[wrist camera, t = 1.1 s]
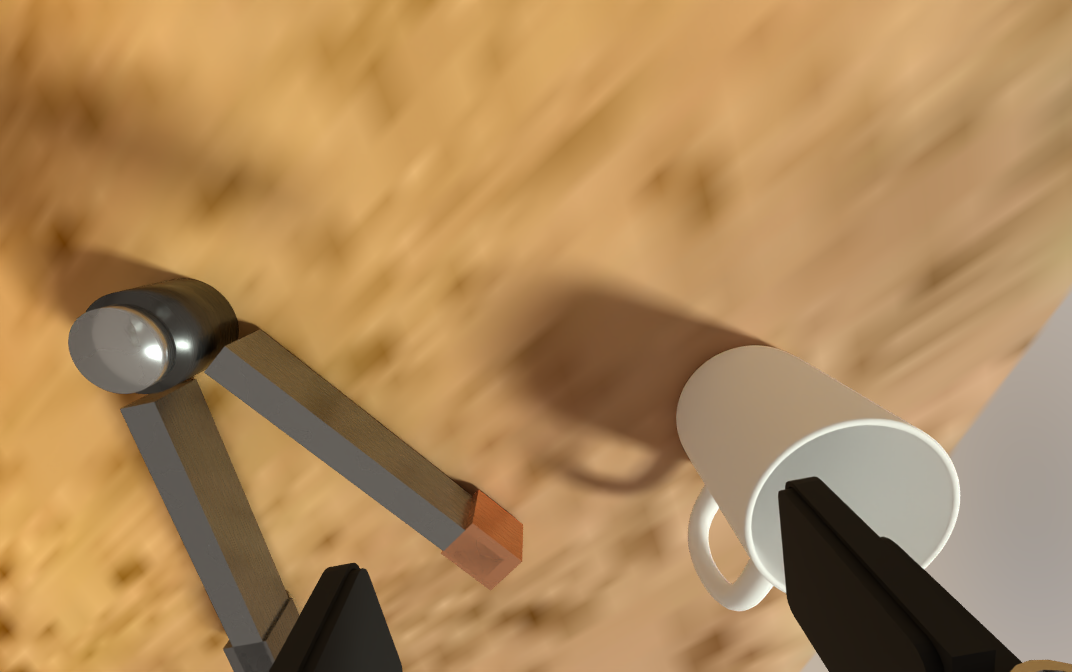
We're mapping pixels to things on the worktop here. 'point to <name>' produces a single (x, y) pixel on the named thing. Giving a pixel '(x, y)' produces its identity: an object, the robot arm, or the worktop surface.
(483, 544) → the tong arm
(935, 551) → the cup
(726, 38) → the worktop surface
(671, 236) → the worktop surface
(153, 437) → the base
